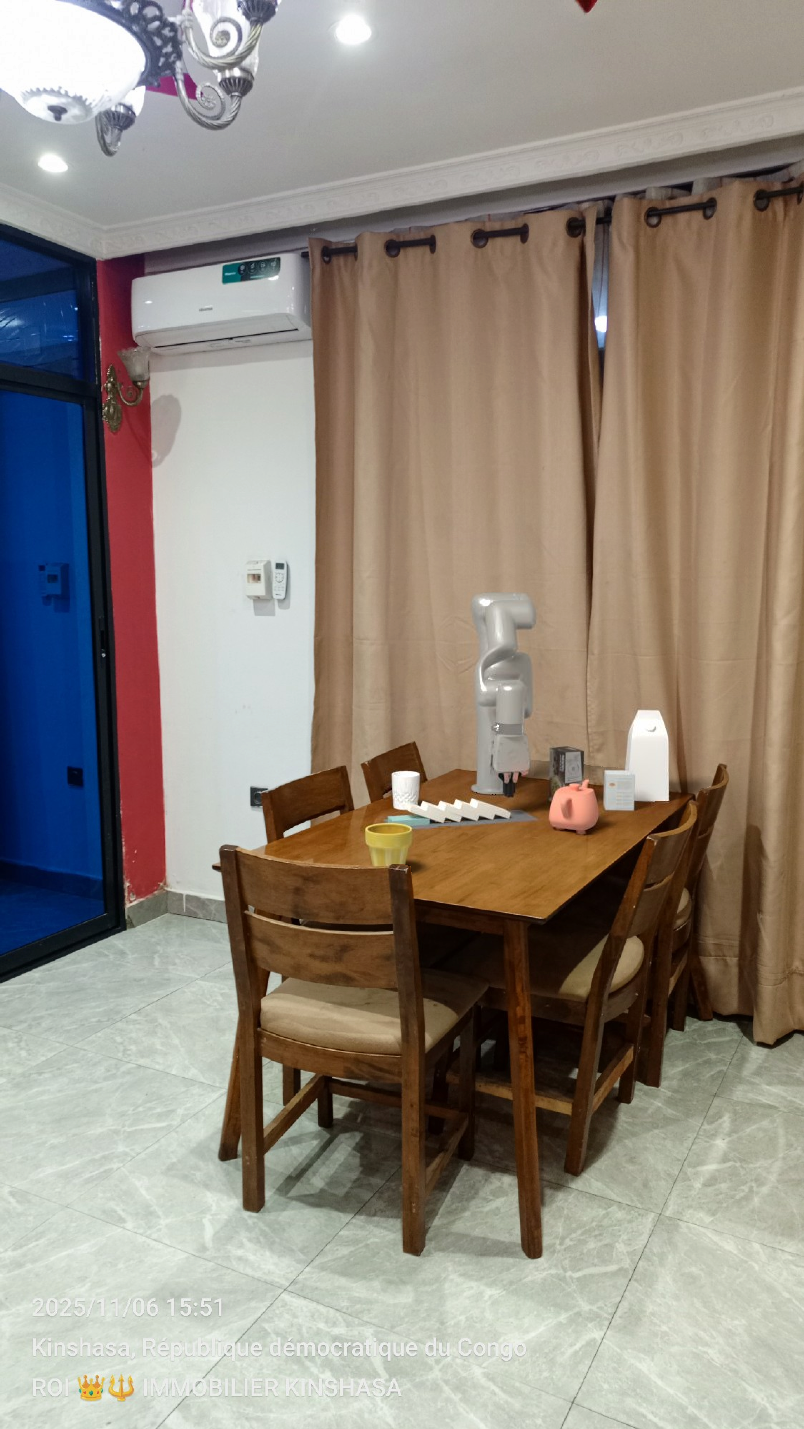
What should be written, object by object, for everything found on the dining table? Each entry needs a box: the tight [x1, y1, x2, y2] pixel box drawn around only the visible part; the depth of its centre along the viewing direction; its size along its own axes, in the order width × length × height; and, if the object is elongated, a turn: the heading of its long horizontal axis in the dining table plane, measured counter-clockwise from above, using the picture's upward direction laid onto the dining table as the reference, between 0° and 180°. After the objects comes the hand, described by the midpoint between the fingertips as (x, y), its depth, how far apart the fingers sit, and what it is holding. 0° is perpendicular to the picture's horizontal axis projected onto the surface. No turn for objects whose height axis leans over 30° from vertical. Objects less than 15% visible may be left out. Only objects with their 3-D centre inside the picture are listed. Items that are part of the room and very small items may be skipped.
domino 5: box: [453, 798, 495, 820], centre depth 257 cm, size 5×2×10 cm
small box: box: [603, 769, 635, 812], centre depth 271 cm, size 8×6×10 cm
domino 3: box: [420, 800, 462, 822], centre depth 255 cm, size 5×2×10 cm
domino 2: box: [404, 802, 445, 823], centre depth 253 cm, size 5×2×10 cm
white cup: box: [391, 770, 421, 811], centre depth 270 cm, size 8×8×10 cm
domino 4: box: [437, 800, 479, 821], centre depth 256 cm, size 5×2×10 cm
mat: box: [382, 809, 539, 830], centre depth 256 cm, size 12×40×1 cm, turn 106°
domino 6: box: [469, 798, 511, 819], centre depth 258 cm, size 5×2×10 cm
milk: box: [624, 709, 670, 802], centre depth 284 cm, size 12×12×26 cm
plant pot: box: [364, 822, 413, 867], centre depth 212 cm, size 10×10×10 cm
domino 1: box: [387, 814, 430, 826], centre depth 252 cm, size 5×2×10 cm
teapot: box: [548, 778, 599, 835], centre depth 249 cm, size 20×12×12 cm, turn 152°
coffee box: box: [548, 746, 585, 802], centre depth 276 cm, size 9×6×16 cm
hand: (508, 796), depth 259 cm, fingers closed
